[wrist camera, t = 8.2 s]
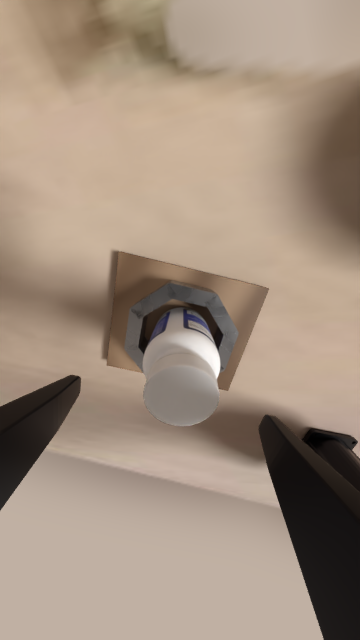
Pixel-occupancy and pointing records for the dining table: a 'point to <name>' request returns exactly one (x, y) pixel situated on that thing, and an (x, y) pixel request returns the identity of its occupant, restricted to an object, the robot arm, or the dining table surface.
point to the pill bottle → (181, 369)
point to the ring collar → (185, 293)
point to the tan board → (149, 275)
